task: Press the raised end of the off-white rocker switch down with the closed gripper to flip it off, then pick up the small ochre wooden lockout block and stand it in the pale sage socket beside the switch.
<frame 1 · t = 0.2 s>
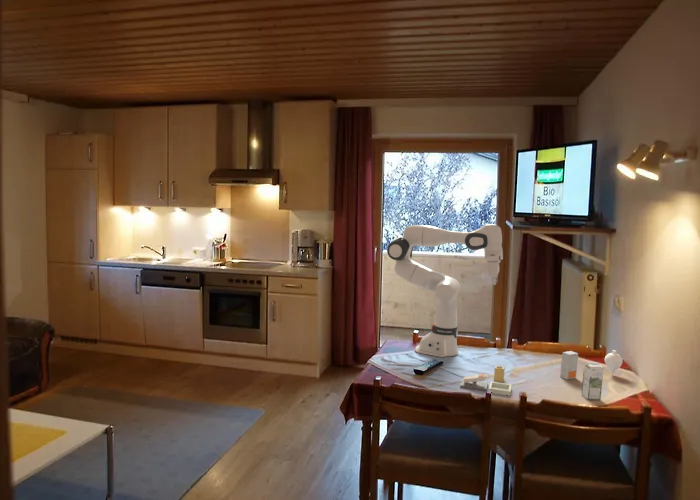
hand: (494, 283, 276), 39 cm above the table, tool pointing down, fingers open, 8 cm apart
lockout cap: (498, 380, 248), on the table
syrup box: (590, 398, 230), on the table
rocker: (474, 378, 239), point 4 cm above the table, hinge at -15.0°
spinning top: (612, 375, 260), on the table
skincare box: (568, 378, 255), on the table
socket: (500, 390, 235), on the table
switch base: (474, 386, 239), on the table
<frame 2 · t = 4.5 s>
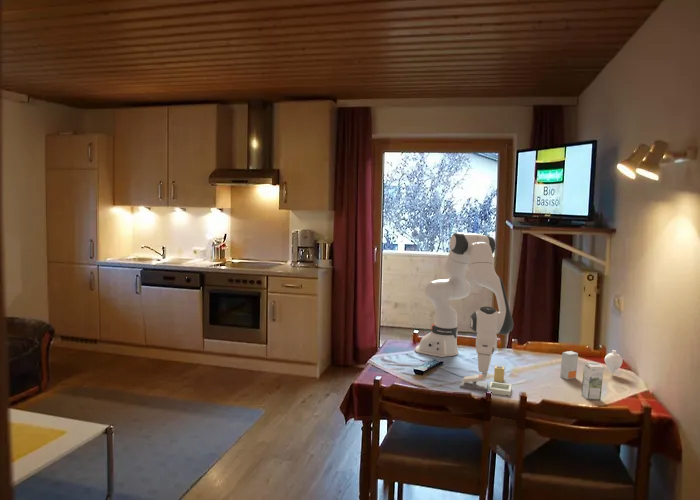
hand: (484, 376, 237), 5 cm above the table, tool pointing down, fingers closed, pressing on rocker
rocker: (474, 378, 239), point 4 cm above the table, hinge at -14.2°, touching gripper
everything else where it was.
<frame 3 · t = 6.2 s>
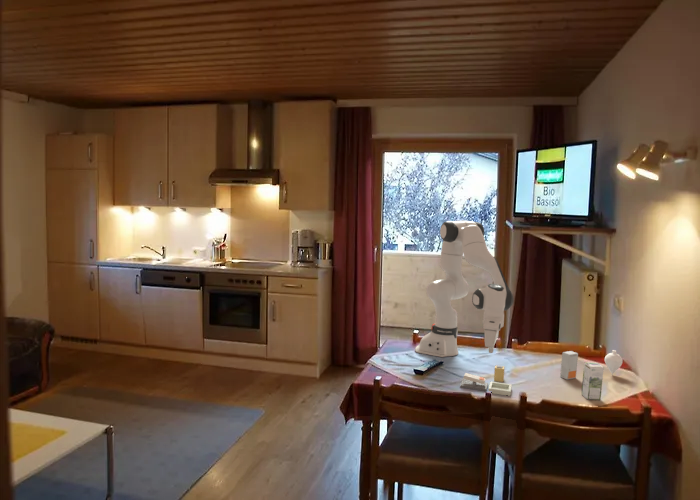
hand: (490, 352, 242), 14 cm above the table, tool pointing down, fingers closed
rocker: (474, 378, 239), point 4 cm above the table, hinge at 7.9°
everything else where it was.
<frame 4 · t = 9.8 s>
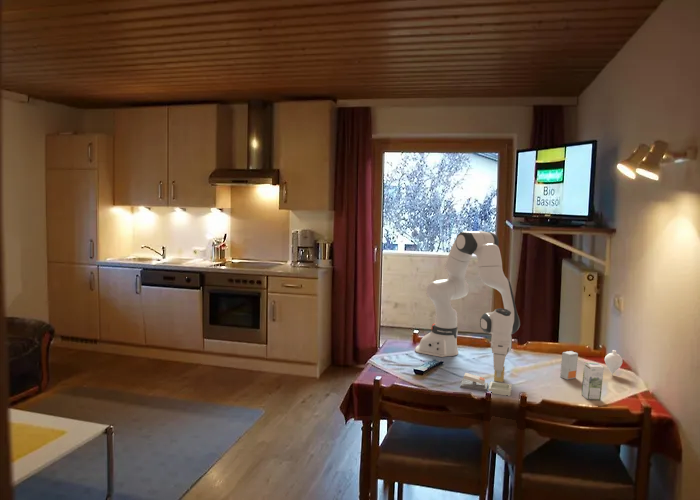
hand: (499, 375, 248), 2 cm above the table, tool pointing down, fingers closed on lockout cap, 4 cm apart
lockout cap: (498, 380, 248), on the table, touching gripper
rocker: (474, 378, 239), point 4 cm above the table, hinge at 9.0°
everything else where it was.
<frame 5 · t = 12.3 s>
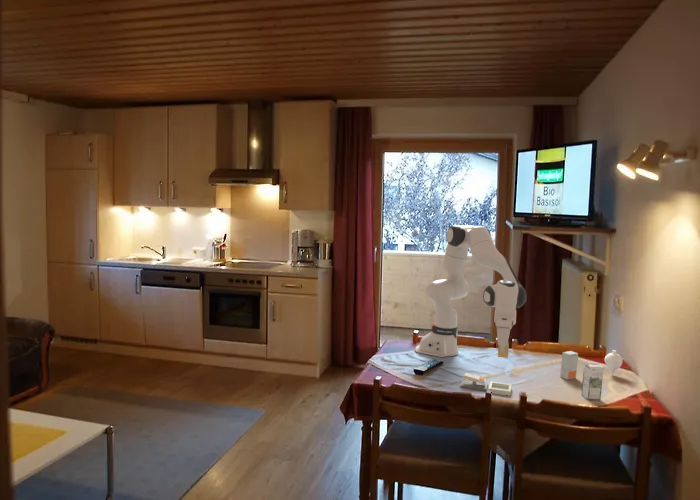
hand: (503, 350, 233), 18 cm above the table, tool pointing down, fingers closed on lockout cap, 4 cm apart
lockout cap: (503, 356, 233), point 15 cm above the table, touching gripper
everything else where it was.
when the fingers open (4 cm above the table, at t = 15.1 s): lockout cap drops 1 cm, resting on socket.
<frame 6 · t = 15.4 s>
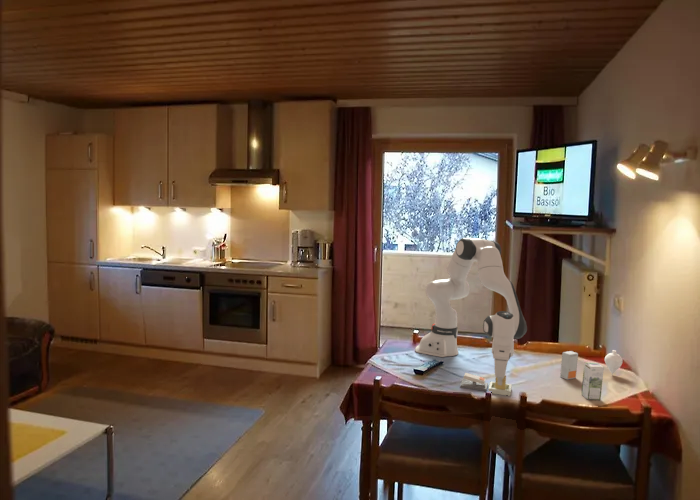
hand: (500, 381, 234), 4 cm above the table, tool pointing down, fingers open, 7 cm apart
lockout cap: (500, 389, 235), resting on socket
everything else where it was.
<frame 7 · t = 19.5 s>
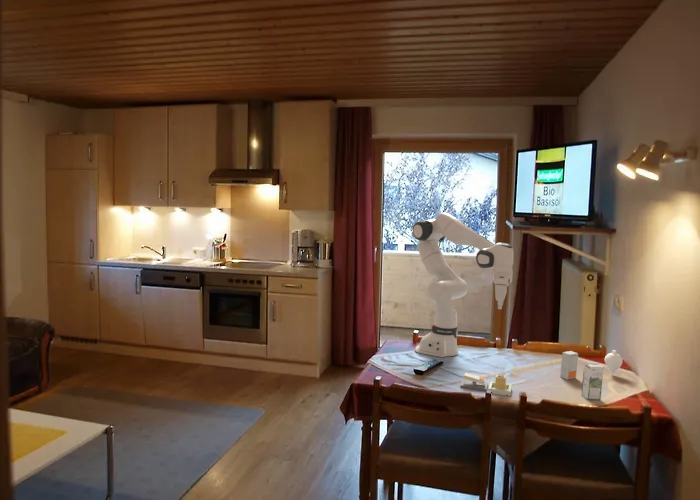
hand: (500, 307, 257), 31 cm above the table, tool pointing down, fingers open, 8 cm apart
nothing on the table moved.
at the end: rocker at +9° (first picture: -15°); lockout cap 0.0 cm off-centre on the socket, point 0.4 cm above the socket's base; lockout cap tilted 0° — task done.
